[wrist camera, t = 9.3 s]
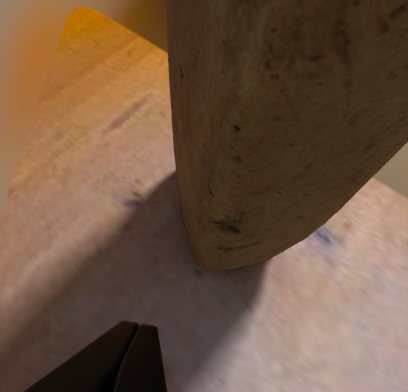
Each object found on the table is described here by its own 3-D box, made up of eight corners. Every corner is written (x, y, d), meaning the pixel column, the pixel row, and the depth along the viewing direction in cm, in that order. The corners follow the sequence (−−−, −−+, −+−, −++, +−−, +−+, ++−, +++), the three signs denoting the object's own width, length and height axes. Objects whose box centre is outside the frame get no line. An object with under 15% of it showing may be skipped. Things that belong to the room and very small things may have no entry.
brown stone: (296, 264, 21) (833, -183, 4) (192, 287, 20) (288, -233, 3) (251, 144, 26) (395, -290, 9) (165, 156, 25) (134, -325, 8)
